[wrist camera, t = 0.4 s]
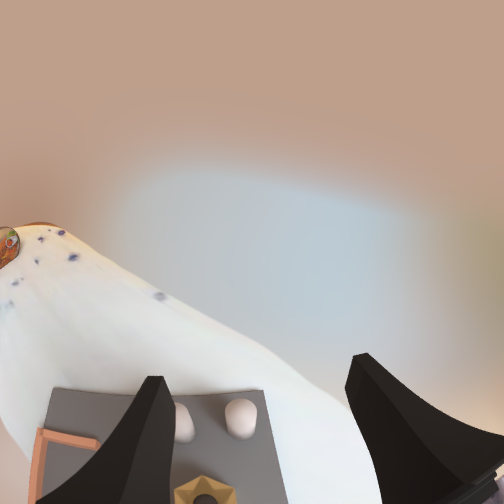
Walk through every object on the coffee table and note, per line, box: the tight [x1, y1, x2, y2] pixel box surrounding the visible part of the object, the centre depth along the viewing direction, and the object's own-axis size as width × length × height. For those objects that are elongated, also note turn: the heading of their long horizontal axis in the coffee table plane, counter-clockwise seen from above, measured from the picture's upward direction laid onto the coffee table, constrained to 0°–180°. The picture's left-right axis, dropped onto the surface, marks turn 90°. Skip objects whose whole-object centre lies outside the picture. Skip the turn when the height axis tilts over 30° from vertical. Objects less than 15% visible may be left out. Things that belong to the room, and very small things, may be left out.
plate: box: [42, 388, 288, 504], centre depth 15 cm, size 26×26×6 cm
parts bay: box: [28, 427, 101, 504], centre depth 14 cm, size 13×8×1 cm, turn 8°
